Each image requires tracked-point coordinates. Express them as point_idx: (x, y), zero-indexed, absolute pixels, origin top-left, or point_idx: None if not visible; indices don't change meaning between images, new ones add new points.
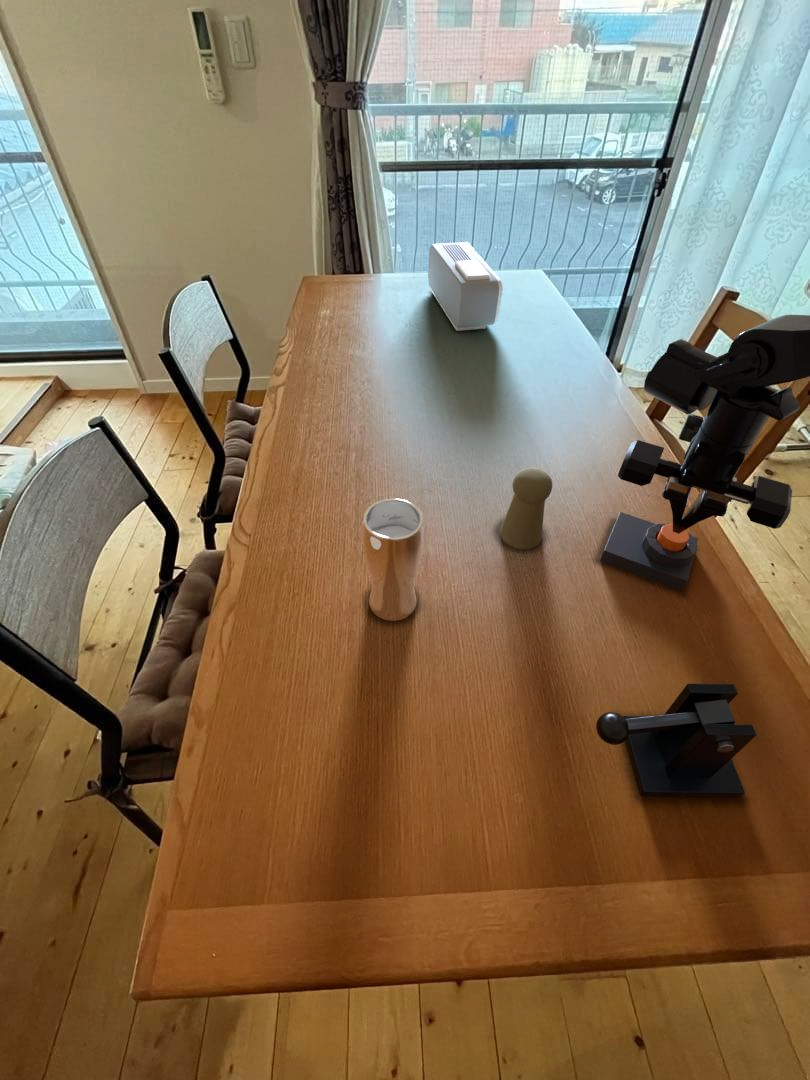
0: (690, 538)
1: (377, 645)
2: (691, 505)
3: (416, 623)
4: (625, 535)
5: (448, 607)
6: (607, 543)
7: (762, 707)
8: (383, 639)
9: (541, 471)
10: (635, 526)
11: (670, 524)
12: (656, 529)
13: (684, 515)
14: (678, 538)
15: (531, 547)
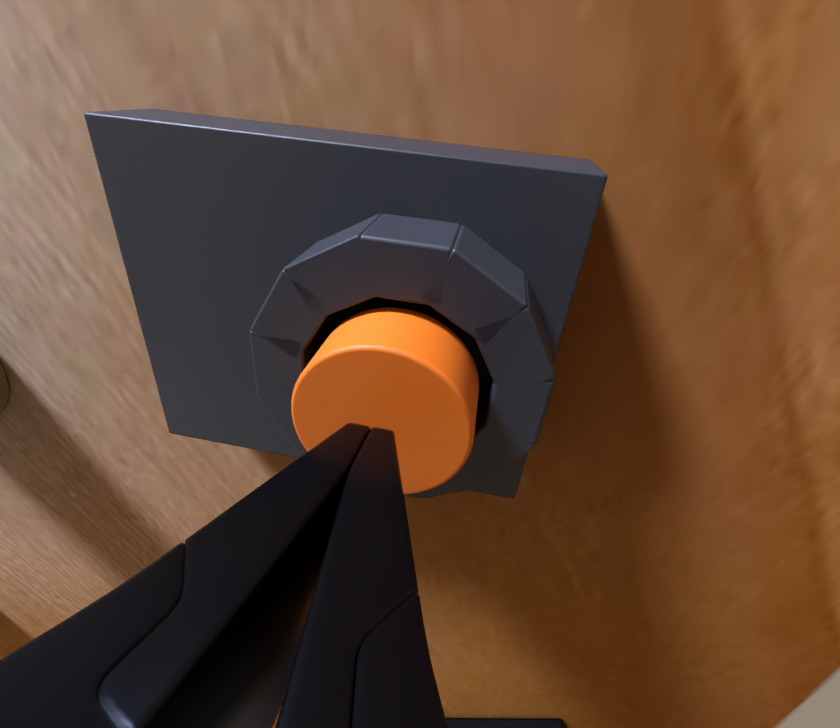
0: (510, 339)
1: (10, 651)
2: (307, 618)
3: (14, 620)
4: (200, 321)
5: (23, 590)
6: (160, 394)
7: (695, 697)
8: (6, 644)
9: None
10: (216, 224)
11: (333, 358)
12: (293, 328)
13: (338, 510)
14: (404, 463)
15: (3, 406)
